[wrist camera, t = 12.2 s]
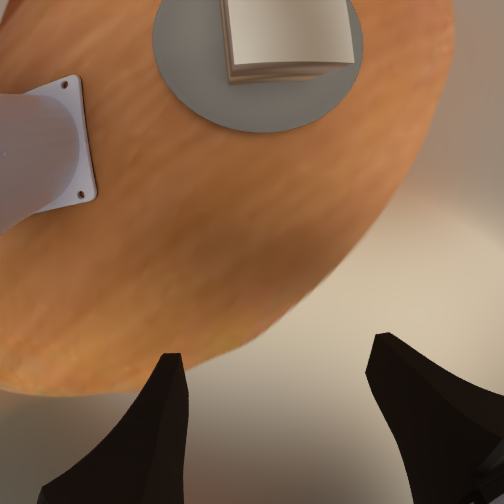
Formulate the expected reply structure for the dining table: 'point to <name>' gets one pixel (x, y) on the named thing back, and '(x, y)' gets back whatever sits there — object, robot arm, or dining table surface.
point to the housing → (284, 39)
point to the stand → (242, 95)
